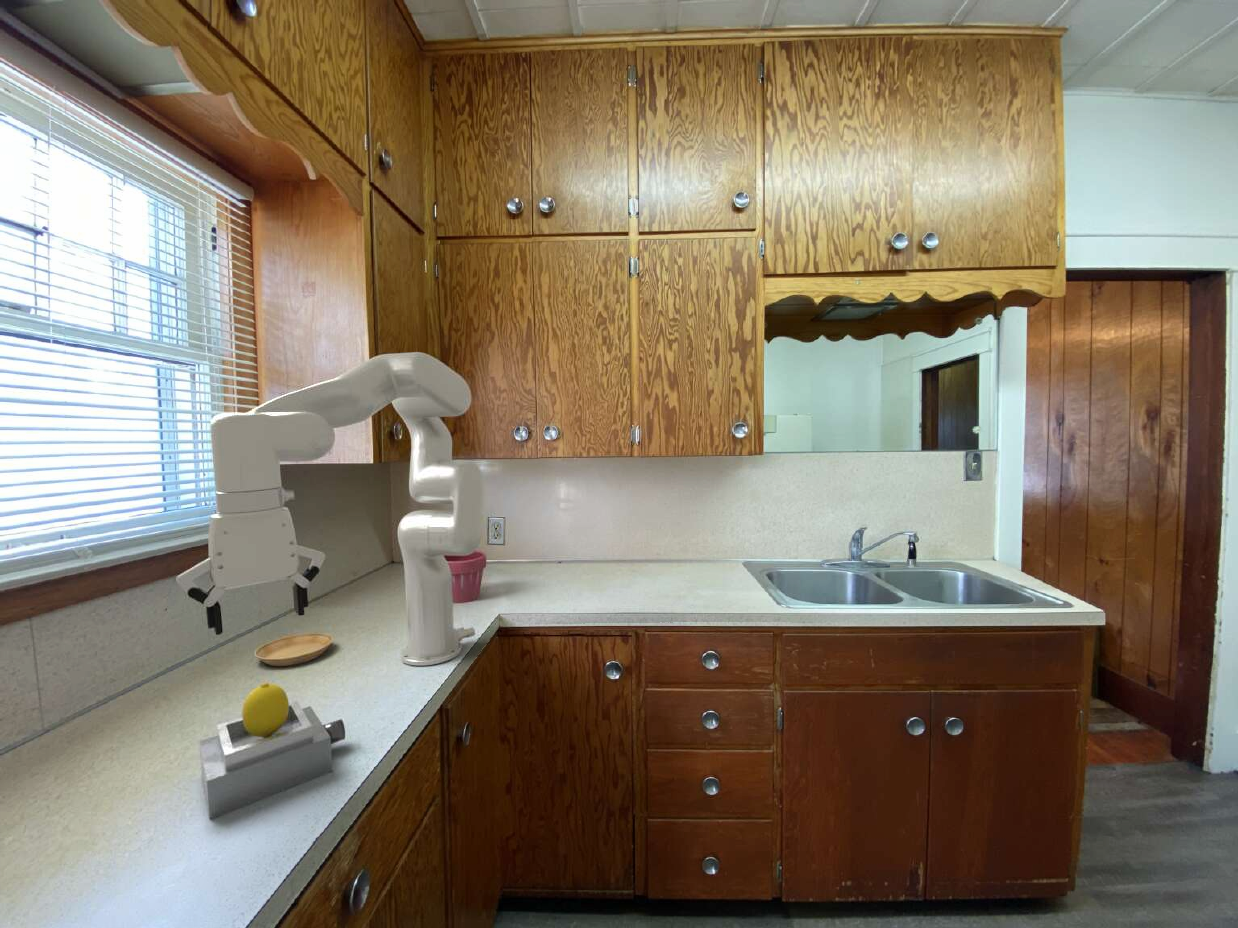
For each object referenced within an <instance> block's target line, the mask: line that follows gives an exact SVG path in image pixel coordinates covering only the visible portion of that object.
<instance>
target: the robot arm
mask: <svg viewBox="0 0 1238 928" xmlns="http://www.w3.org/2000/svg"><path fill="white" fill-rule="evenodd" d="M471 403H472V392H471V389H470V386H469V385H468V382H467V381H466V380H465V378H463V377H462V376H461V375H460V374H459V373H457V372H456V371H454V370H453V369H452V368H451V367H449V366H447V365H446V364H445V363H443V362H442V361H441V360H439V359H437V358H435V357H434V356H432V355H430V354H428V353H425V352H420V351H414V352H413V351H412V352H399V353H396V352H395V353H386V354H385V353H384V354H378V355H376V356H373V357H372V358H370V359H368V360H366V361H364V362H362V363H360V364H359V365H357V366H355V367H353V368H351V369H349V370H347V371H346V372H344V373H342V374H340V375H339V376H337V377H334V378H332V379H328V380H325V381H322V382H319V383H316V384H313V385H310V386H308V387H305V388H301V389H299V390H296V391H293V392H289V393H287V394H283V395H282V396H281V395H280V396H279V397H276V398H273V399H271V400H269V401H267V402H265V403H263V404H261V405H259V406H257V407H255V408H253V409H252V410H250V411H248V412H229V413H220V414H217V415H215V416H213V418H212V419H211V421H210V426H209V427H210V428H209V429H210V441H211V452H212V463H213V464H212V465H213V473H214V474H213V475H214V487H215V497H216V510H217V513H215V514H212V515H210V519H209V527H208V542H207V543H208V558H206V559H204V560H203V561H200V562H199V563H197V564H196V565H194V566H192V567H191V568H189V569H187V570H185V571H184V572H182V573H180V574H179V575H177V576H176V577H175V580H176V584H178V585H179V587H180V589H182V590H183V591H184V592H185V593H186V594H187V595H188V597H189V598H191V599H193V600H194V601H196V602H198V603H200V604H202V605H204V606H205V609H206V621H207V629H208V630H210V629H213V628H214V633H215V635H216V636H219V635H221V634H222V633H223V632H224V631H223V629H224V628H223V620H222V607H221V604H220V602H219V599H220V598H221V596H222V595H223V594H224V593H225V592H226V591H227V590H230V589H231V590H232V589H237V588H243V587H249V586H254V585H259V584H260V585H261V584H265V583H271V582H275V581H276V582H277V581H282V580H285V579H290V580H292V581H293V582H294V584H293V586H292V594H293V595H292V597H293V607H294V608H293V609H294V612H295V613H296V615H298V616H299V617H301V616H305V608H308V607H309V600H308V599H309V597H308V587H309V586H310V583H311V582H312V581H313V580H314V579H315V577H316V576H317V575H318V574H319V573H320V570H321V567H322V566H323V563H324V561H325V559H326V553H324V552H322V551H319V550H316V549H313V548H308V547H306V546H303V545H298V543H297V538H296V532H295V527H294V523H293V522H294V521H293V519H292V515H291V512H290V510H289V508H288V507H286V506H285V503H286V502H287V501H289V500H295V493H294V490H292V489H291V490H288V489H284V487H283V486H282V478H281V465H280V464H281V462H288V463H295V462H296V463H299V462H300V463H302V462H305V463H306V462H312V461H315V460H320V459H321V458H323V457H324V456H326V455H328V454H329V452H330V451H331V450H332V449H333V448H334V444H335V441H336V433H335V430H334V429H337V428H344V427H348V426H352V425H354V424H359V423H361V422H364V421H366V420H369V419H370V418H371V417H373V415H375V414H376V413H378V412H379V411H381V410H382V409H384V408H385V407H386V406H387V405H390V404H392V406H393V408H394V409H395V411H396V413H397V414H398V415H399V416H400V418H401V419H402V421H403V422H404V423H405V426H406V428H407V430H408V432H409V435H410V439H411V441H410V443H411V448H410V449H411V450H410V462H409V463H410V464H409V474H408V475H409V477H408V490H409V495H410V497H411V498H412V500H413V501H415V502H417V503H420V504H421V503H422V504H426V505H427V504H430V505H453V510H442V509H419V510H414V511H410V512H409V513H407V514H405V515H404V516H403V517H402V518H401V519H400V522H398V523H399V524H398V525H397V526H398V527H397V541H398V545H399V548H400V553H401V556H402V562H403V570H404V584H405V587H404V588H405V607H406V611H405V612H406V628H407V629H406V631H407V633H406V634H407V646H406V647H404V648H403V649H402V651H401V652H400V660H401V661H402V663H405V665H410V666H418V667H419V666H431V665H436V664H441V663H445V662H448V661H450V660H452V659H454V658H456V657H457V656H458V655H459V654H461V652H462V650H463V648H462V645H463V644H462V643H461V642H462V641H463V639H465V638H466V639H467V638H470V637H475V635H476V630H475V628H474V627H473V626H472V627H469V628H468V627H467V628H464V626H463V627H458V628H455V627H454V609H453V608H454V606H453V604H454V603H453V602H452V576H451V570H450V567H449V565H448V563H447V561H446V559H445V558H444V556H443V555H450V556H465V555H470V554H472V553H473V552H475V551H477V550H478V548H479V545H480V544H481V543H480V542H481V538H482V530H483V515H484V514H483V513H484V499H485V498H484V497H485V496H484V495H485V493H484V492H485V491H484V490H485V483H484V477H483V473H482V470H481V468H480V467H479V465H478V464H477V463H475V462H474V461H471V460H466V459H453V436H452V435H451V432H450V431H449V429H448V427H447V425H446V424H445V423H444V421H443V420H442V419H441V417H442V418H443V417H445V418H446V417H449V418H450V417H459V416H462V415H463V414H465V413H466V412H467V411H469V408H470V406H471ZM284 506H285V507H284ZM299 556H300V557H304V558H307V559H311V562H310V564H309V566H308V567H307V568H306V569H305V570H304V571H303V573H302V574H301V573H300V572H299V571H300V557H299ZM207 572H209V576H210V577H209V578H210V581H211V582H212V585H211V586H210V587H208V589H207V590H204V589H202V588H200V587H198V586H197V585H196V584H195V583H194V580H195V579H197V578H198V577H201V575H204V574H205V573H207Z"/></svg>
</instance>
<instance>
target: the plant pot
mask: <svg viewBox="0 0 1238 928" xmlns="http://www.w3.org/2000/svg"><path fill="white" fill-rule="evenodd" d="M443 556H444V558H445V559H446V561H447V563H448V565H449V567H450V570H451V576H452V602H453V604H463V603H470V602H473V601H475V600H477V599H478V598H479V596H480V590H481V586H482V580H483V575H484V569H485V568H487V554H486V552H484V551H481V550H476V551H475V552H473V553H472V554H470V555H465V556H450V555H443Z"/></svg>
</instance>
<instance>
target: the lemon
mask: <svg viewBox="0 0 1238 928" xmlns="http://www.w3.org/2000/svg"><path fill="white" fill-rule="evenodd" d="M289 703H290V702H289V698H288V696H287V694H286V692H285V690H284V689H283V688H282V687H281V686H279V685H277V684H273V683H268V682H264V683H261V685H259V686H257V687H256V688H254V689H253V690H252V691H251V692H250V693H249V694H248V695H247V697H246V698H245V700H244V703H243V706H242V707H243V708H242V713H241V716H242V719H243V724H244V727H245V729H246V730H247V731H248V732H249V733H250V734H251V735H253V736H257V737H263V738H268V737H271V735H272V734H273V733H275V732H277V731H278V730H279V729H280V728H281V727H282V726H283V724H284V723H285V721H286V719H287V716H288V711H289Z"/></svg>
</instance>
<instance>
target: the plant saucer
mask: <svg viewBox="0 0 1238 928" xmlns="http://www.w3.org/2000/svg"><path fill="white" fill-rule="evenodd" d="M333 641H334V638H333V636H332V635H331V634H329V633H325V632H310V633H307V632H306V633H300V634H299V633H298V634H294V635H290V636H289V635H288V636H284V637H281V638H278V639H274V640H272V641H269V642H267V643H264V644H263V645H261V646H260V647H258V648H257V649H255V651H254V656H255V657H256V658H257V659H259V660H260V661H262V662H263V663H265V665H266V664H267V665H269V666H273V667H285V666H286V667H287V666H294V665H299V664H302V663H306V662H309V661H312V660H314V659H316V658H318V657H320V656H321V655H322V654H323V653H324V652H325V651H326V650H327V649H328V648H329V647H330V645H332V642H333Z"/></svg>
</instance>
